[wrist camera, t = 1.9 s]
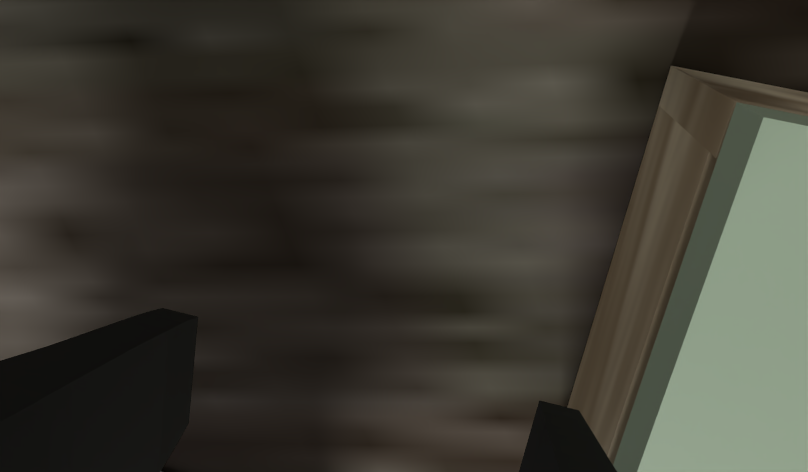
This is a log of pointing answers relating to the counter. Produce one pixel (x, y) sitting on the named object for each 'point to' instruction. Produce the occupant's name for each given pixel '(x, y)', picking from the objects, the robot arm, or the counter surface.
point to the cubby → (659, 238)
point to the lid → (735, 318)
